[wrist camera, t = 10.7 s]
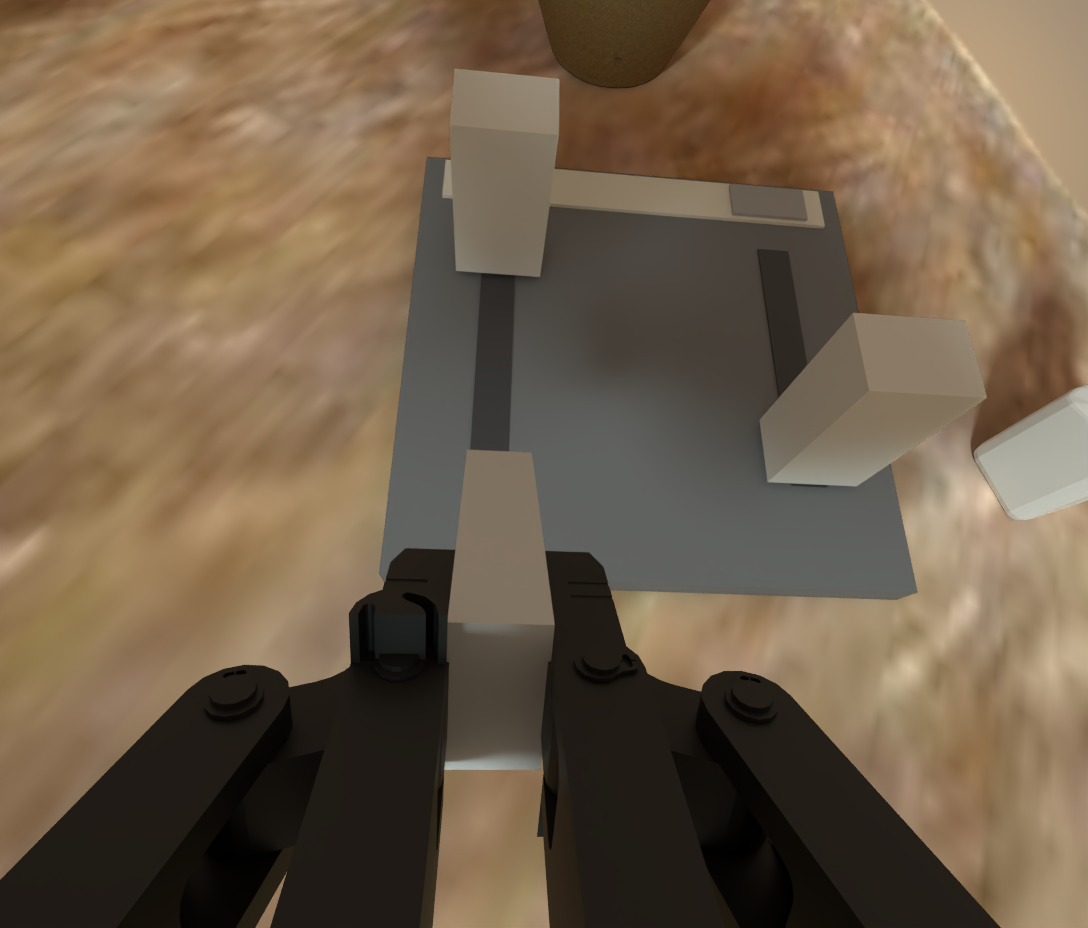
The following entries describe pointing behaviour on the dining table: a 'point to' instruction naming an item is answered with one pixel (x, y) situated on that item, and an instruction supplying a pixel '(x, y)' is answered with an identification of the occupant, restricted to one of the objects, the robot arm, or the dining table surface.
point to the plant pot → (618, 36)
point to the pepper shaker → (1040, 458)
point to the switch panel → (642, 387)
